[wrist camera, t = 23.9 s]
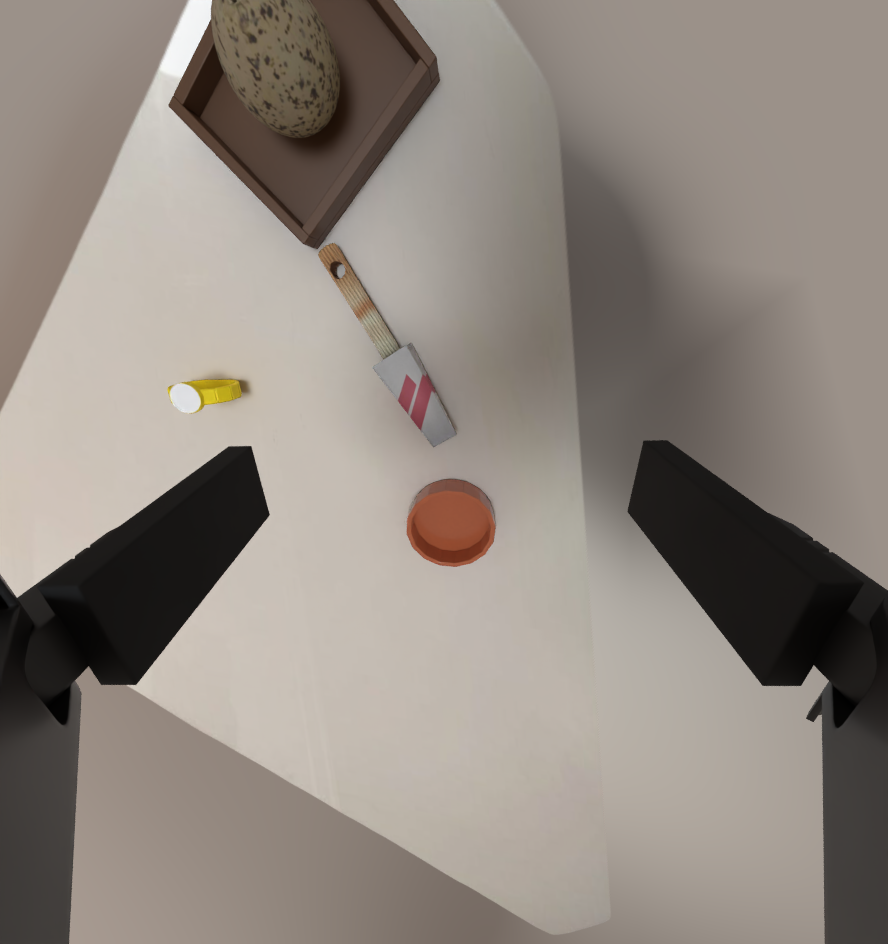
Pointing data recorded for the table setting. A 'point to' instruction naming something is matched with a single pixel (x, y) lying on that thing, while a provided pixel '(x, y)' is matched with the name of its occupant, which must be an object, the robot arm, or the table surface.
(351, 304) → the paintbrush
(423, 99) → the tray
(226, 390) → the watch
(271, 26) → the decorative egg
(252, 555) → the table surface
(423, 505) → the shallow dish
